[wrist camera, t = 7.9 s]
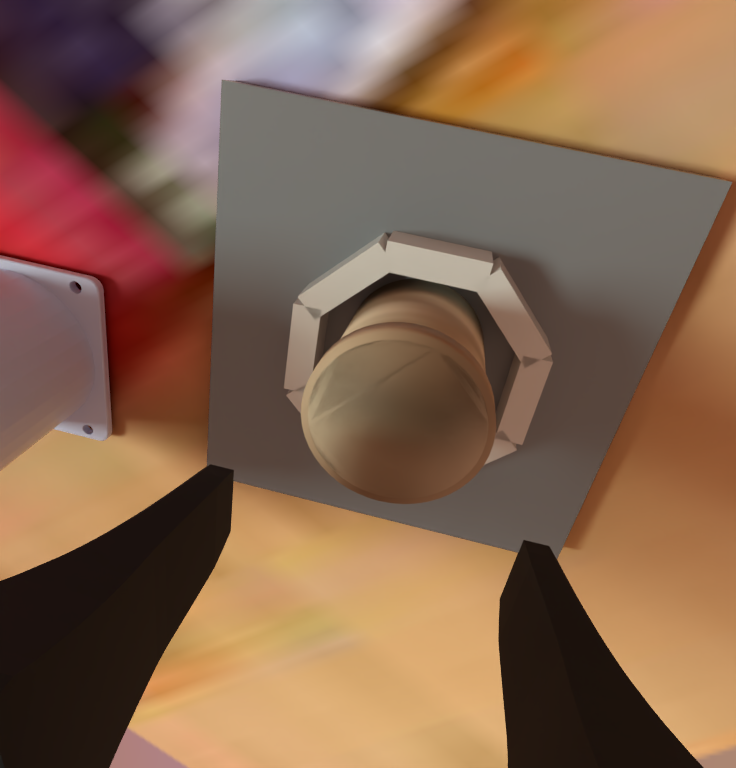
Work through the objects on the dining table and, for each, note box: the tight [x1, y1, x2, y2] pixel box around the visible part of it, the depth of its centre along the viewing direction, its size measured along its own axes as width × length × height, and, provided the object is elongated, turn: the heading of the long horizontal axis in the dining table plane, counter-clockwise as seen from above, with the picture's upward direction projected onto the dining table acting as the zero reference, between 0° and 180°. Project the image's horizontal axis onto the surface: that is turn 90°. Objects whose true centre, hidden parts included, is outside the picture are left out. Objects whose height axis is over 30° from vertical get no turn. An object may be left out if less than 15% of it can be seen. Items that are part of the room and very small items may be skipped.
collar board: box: [207, 80, 732, 559], centre depth 21 cm, size 16×16×2 cm
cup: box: [301, 279, 496, 504], centre depth 18 cm, size 5×5×6 cm
